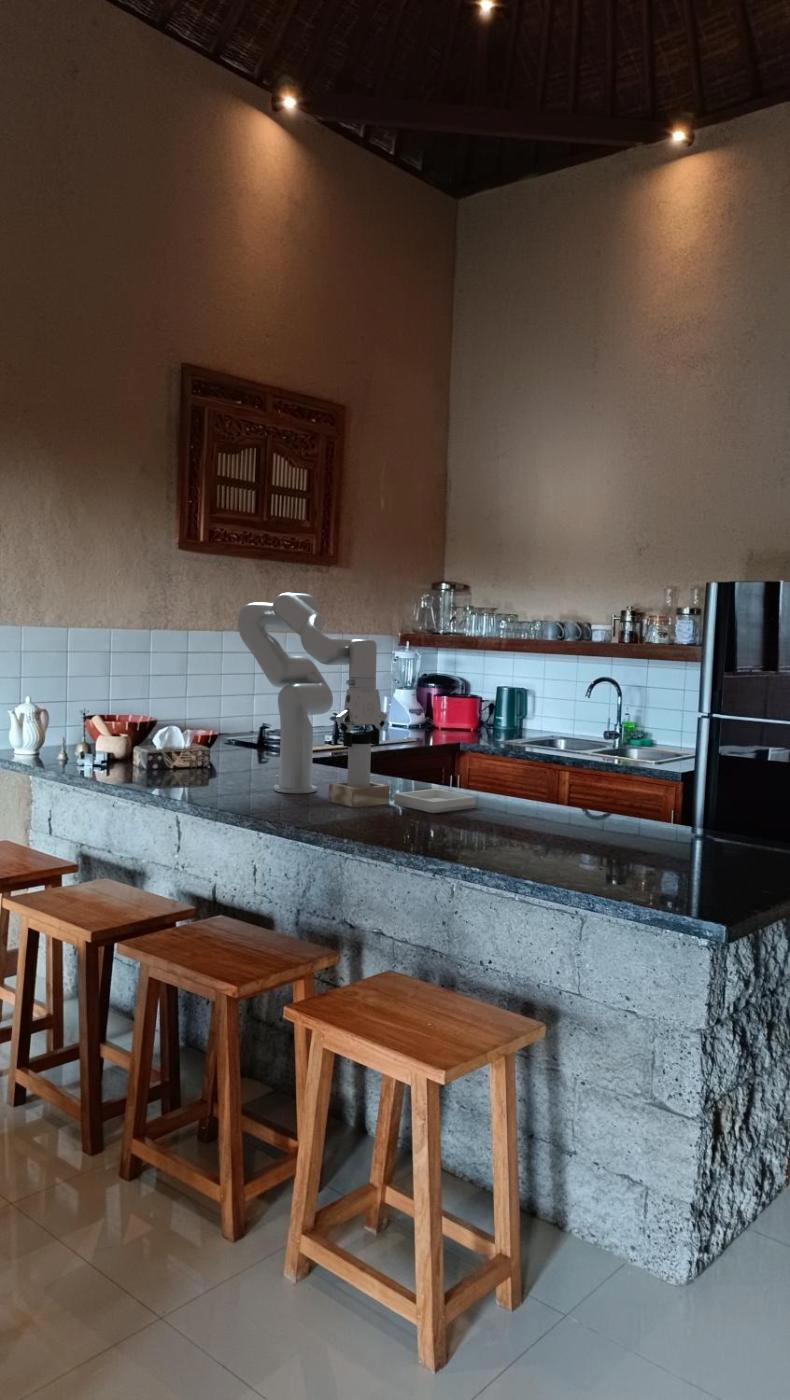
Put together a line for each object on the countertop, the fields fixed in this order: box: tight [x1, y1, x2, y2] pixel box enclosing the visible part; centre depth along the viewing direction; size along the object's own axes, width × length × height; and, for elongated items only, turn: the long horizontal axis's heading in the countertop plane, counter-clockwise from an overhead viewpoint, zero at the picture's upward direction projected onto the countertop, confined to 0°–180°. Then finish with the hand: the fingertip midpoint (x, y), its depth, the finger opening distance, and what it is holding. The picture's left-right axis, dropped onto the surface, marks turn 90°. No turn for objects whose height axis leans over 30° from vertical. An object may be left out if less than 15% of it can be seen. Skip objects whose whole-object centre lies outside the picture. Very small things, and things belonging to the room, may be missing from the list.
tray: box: [393, 788, 477, 814], centre depth 282 cm, size 16×16×3 cm
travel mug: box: [346, 730, 373, 788], centre depth 283 cm, size 6×7×20 cm
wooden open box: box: [328, 781, 390, 808], centre depth 284 cm, size 12×12×5 cm
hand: (361, 745), depth 282 cm, fingers open, 9 cm apart
